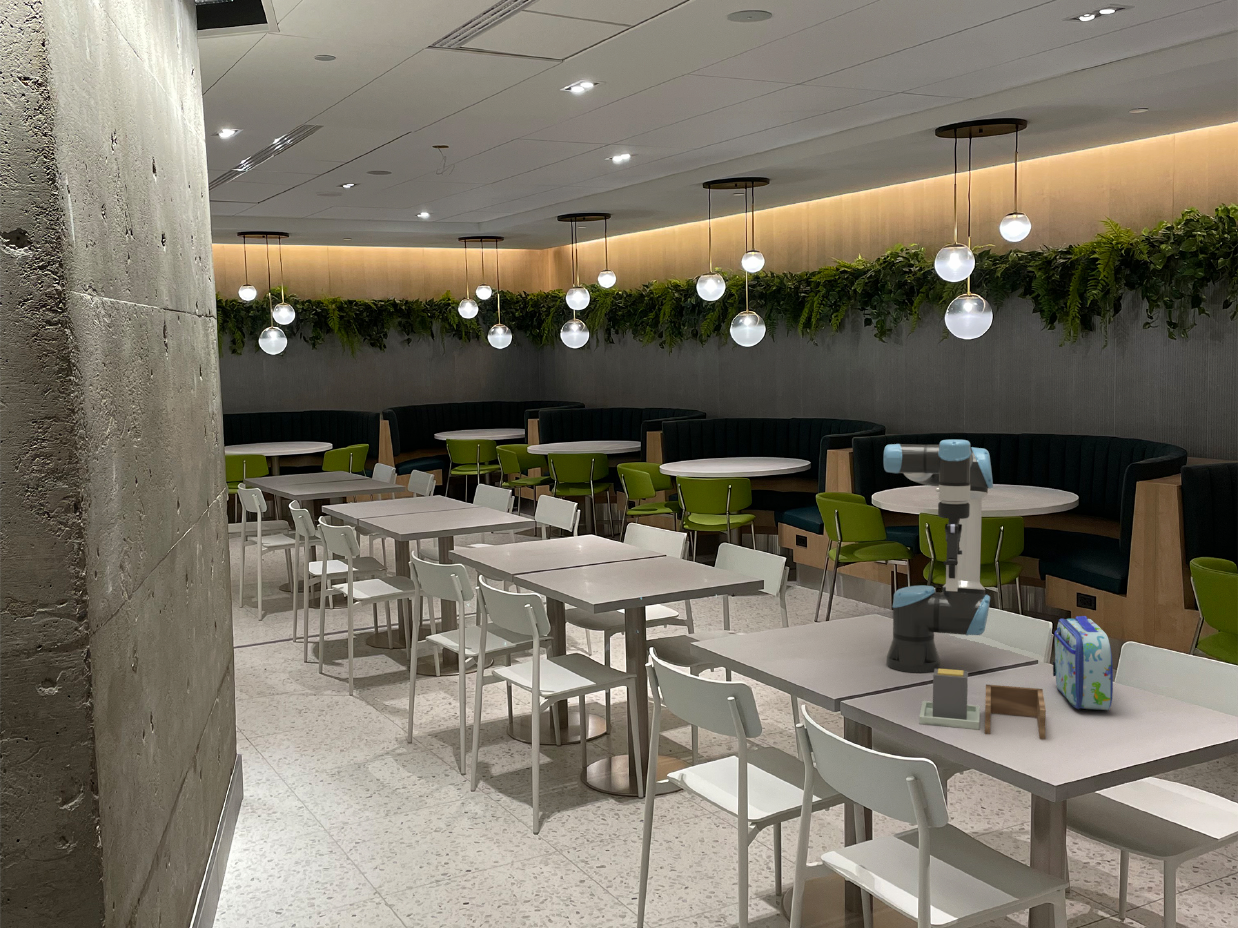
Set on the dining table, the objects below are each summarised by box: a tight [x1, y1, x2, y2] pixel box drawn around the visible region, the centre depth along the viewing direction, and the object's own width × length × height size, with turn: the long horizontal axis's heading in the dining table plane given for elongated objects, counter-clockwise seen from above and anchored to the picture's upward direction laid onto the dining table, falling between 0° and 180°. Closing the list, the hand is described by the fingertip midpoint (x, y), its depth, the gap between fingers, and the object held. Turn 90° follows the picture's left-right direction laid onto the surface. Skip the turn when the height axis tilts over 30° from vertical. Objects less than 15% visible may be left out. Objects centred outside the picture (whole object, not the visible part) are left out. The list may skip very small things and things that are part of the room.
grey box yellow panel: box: [932, 668, 969, 720], centre depth 265 cm, size 6×8×11 cm
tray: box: [918, 700, 981, 730], centre depth 266 cm, size 13×14×2 cm
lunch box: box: [1052, 615, 1114, 711], centre depth 278 cm, size 26×11×21 cm, turn 168°
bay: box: [984, 684, 1047, 740], centre depth 260 cm, size 17×13×7 cm
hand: (952, 585), depth 267 cm, fingers open, 13 cm apart
